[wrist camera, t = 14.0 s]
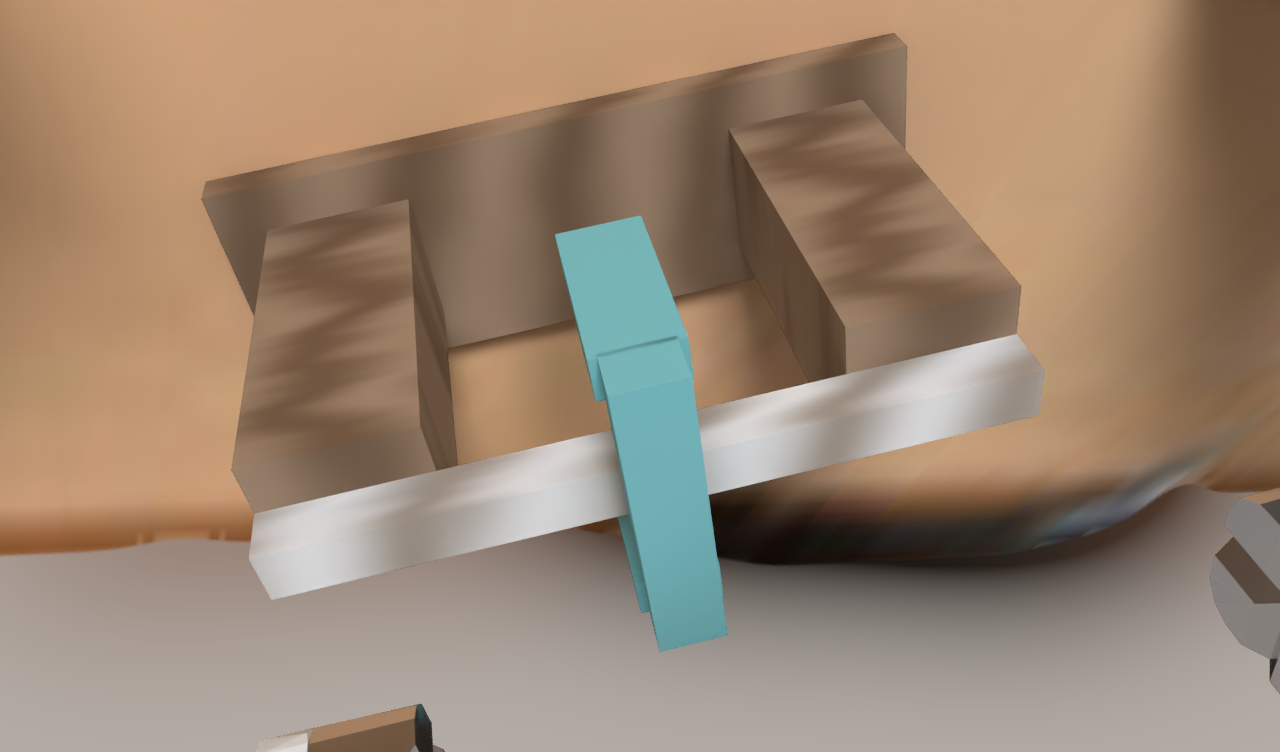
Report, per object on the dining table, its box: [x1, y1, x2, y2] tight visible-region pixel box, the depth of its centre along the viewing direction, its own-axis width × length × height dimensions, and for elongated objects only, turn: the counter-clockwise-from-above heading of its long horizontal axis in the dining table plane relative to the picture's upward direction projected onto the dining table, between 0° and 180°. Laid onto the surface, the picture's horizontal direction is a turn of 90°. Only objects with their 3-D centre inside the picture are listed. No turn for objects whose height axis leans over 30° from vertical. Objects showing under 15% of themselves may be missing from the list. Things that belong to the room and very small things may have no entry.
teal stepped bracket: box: [555, 215, 728, 652], centre depth 37 cm, size 3×12×9 cm, turn 8°
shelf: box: [201, 33, 1045, 600], centre depth 42 cm, size 30×10×18 cm, turn 98°
